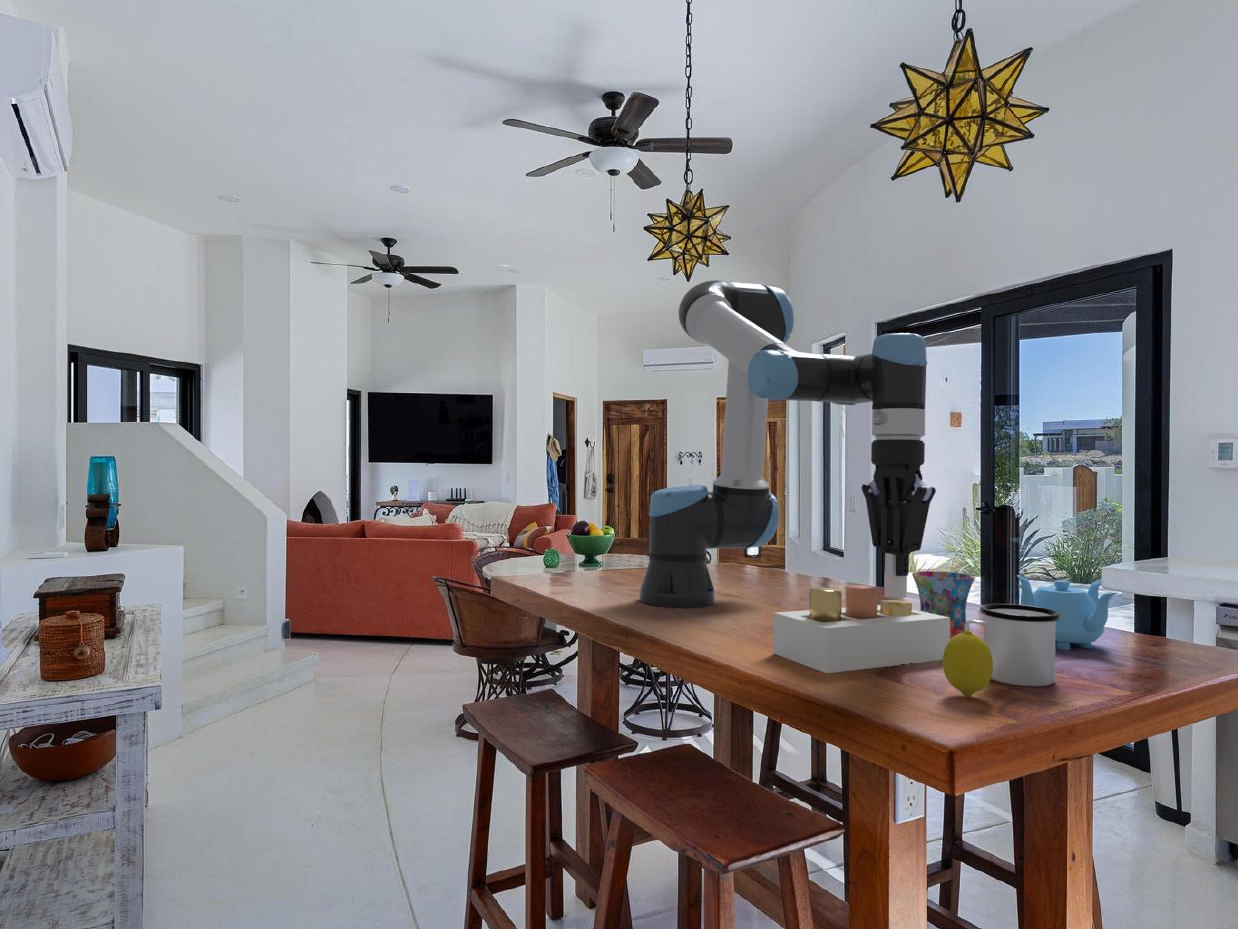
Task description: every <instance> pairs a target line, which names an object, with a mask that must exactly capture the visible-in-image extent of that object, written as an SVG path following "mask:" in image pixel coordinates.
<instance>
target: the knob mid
mask: <svg viewBox="0 0 1238 929" xmlns="http://www.w3.org/2000/svg"><path fill="white" fill-rule="evenodd" d="M878 596H879V595H878V587H875V586H870V585H846V586H845V607H846V616H848V617H852V618H855V619H859V620H860V619H872V618H877V605H878Z"/></svg>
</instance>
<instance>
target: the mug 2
mask: <svg viewBox="0 0 1238 929" xmlns="http://www.w3.org/2000/svg"><path fill="white" fill-rule="evenodd" d="M979 612H980V613H981V614H982V615H984V620H980V619H979V620H977V619H970V620H966V623H965V631H966V630H968V631H970V625H971V624H976V625H980V626H984V627H983V628H984V631H983V633H984V634H983V636H984V637H983V638H984V639H983V640H984V641H985V642H986V644H987V645H988V647H989V649H990V652H991V655H992V660H993V673H992V677H991V680H993V681H994V682H998V683H1002V684H1005V685H1011V686H1018V687H1029V688H1031V687H1034V688H1037V687H1038V688H1039V687H1046V686H1048V687H1049V686H1050V685H1052V684H1054V683H1055V682H1056V641H1055V634H1056V621H1057V620H1059V619H1060V618H1061V615H1060V613H1059V612H1057V611H1055V610H1051V609H1047V608H1042V607H1036V606H1028V605H1021V604H1013V603H992V604H991V603H989V604H983V605H981V606H980V609H979Z"/></svg>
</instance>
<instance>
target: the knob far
mask: <svg viewBox="0 0 1238 929" xmlns="http://www.w3.org/2000/svg"><path fill="white" fill-rule="evenodd" d="M912 604H913V603H912V602H911V601H907V600H906V601H905V600H900V599H883V600H880V602H879V605H880V613H882V614H886V615H890V616H894V617H897V616H909V615H912V609H913V605H912Z"/></svg>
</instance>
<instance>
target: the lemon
mask: <svg viewBox="0 0 1238 929" xmlns="http://www.w3.org/2000/svg"><path fill="white" fill-rule="evenodd" d="M942 670H943V674H944V676H945V678H946V681H948V683H949V684H950V686H952V687H953V688H954V689H956V690H958V691H959V692H960V693H961V694H962V695H963V696H964V697H966V698H970V697H972V696H973V695H974V694H975V693H977V692H981V691H982V690H985V688H986V687H987V686H988V685H989V683H990V682H991V680H992V679H991V677H992V673H993V660H992V655H991V652H990V649H989V647H988V645H987V644H986V642H985V641H984V639H983V638H981V637H980V636H978V635H977V634H974V633H973V631H972V630H969V631H968V630H966V631H964V632H963V633H961V634H958V635H956V636H954V637H953V638H951V639H950V640H949V642H948V643H947V645H946V647H945V650H944V654H943V660H942Z"/></svg>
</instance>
